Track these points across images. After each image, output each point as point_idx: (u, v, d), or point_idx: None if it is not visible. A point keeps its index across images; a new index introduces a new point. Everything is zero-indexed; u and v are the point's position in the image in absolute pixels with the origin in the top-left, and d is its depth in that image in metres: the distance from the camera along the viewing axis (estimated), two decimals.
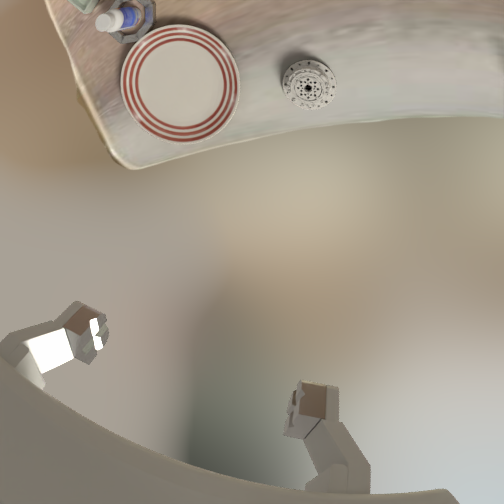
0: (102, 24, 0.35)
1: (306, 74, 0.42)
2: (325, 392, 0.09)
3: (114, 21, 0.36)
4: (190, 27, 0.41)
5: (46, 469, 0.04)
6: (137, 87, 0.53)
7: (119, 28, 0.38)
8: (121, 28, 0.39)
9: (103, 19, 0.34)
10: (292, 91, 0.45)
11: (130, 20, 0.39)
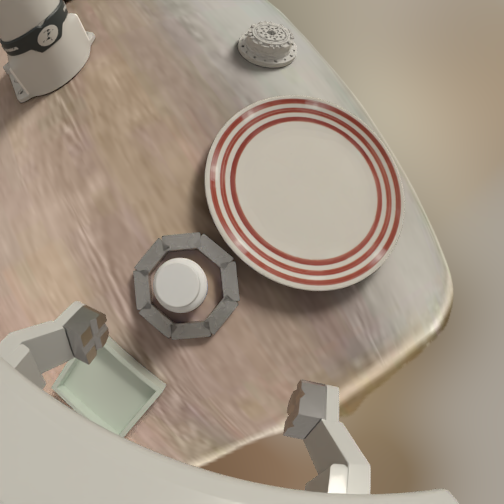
0: (181, 284, 0.25)
1: (255, 34, 0.36)
2: (325, 392, 0.09)
3: None
4: (210, 157, 0.34)
5: (46, 469, 0.04)
6: (327, 260, 0.35)
7: (200, 268, 0.28)
8: None
9: (169, 282, 0.25)
10: (280, 42, 0.37)
11: None
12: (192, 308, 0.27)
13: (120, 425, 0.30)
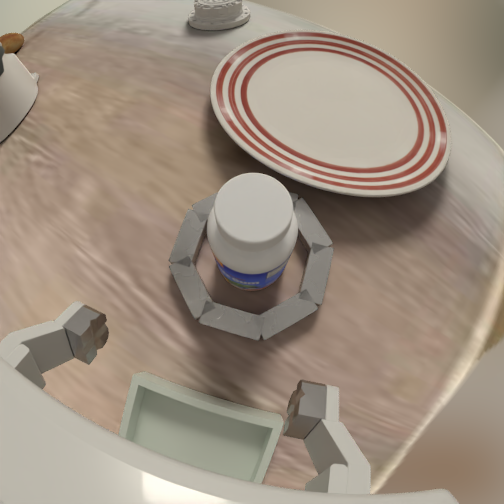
0: (261, 202, 0.14)
1: (203, 3, 0.31)
2: (325, 392, 0.09)
3: None
4: (215, 101, 0.26)
5: (46, 469, 0.04)
6: (400, 161, 0.25)
7: None
8: None
9: (239, 206, 0.14)
10: (231, 1, 0.31)
11: None
12: (288, 250, 0.16)
13: None
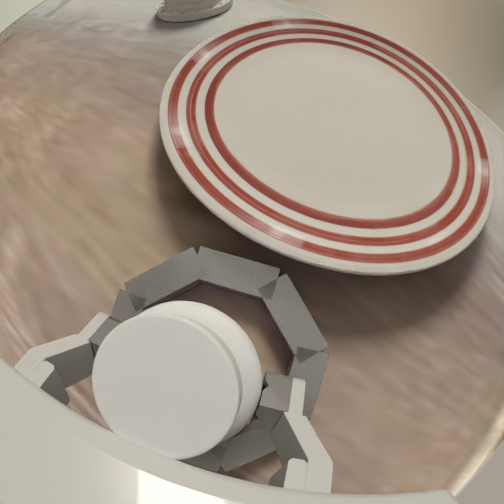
0: (172, 386, 0.06)
1: None
2: (290, 385, 0.09)
3: None
4: (164, 117, 0.18)
5: (46, 469, 0.04)
6: (431, 205, 0.17)
7: None
8: None
9: (132, 389, 0.06)
10: None
11: None
12: (241, 425, 0.08)
13: None
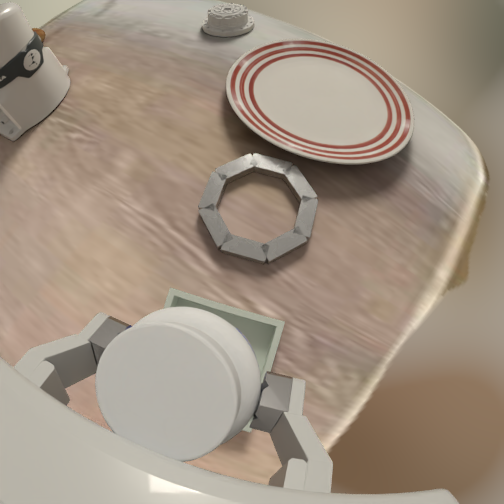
0: (171, 390, 0.07)
1: (215, 13, 0.39)
2: (290, 384, 0.09)
3: None
4: (230, 95, 0.34)
5: (46, 469, 0.04)
6: (370, 141, 0.34)
7: None
8: None
9: (135, 401, 0.06)
10: (239, 12, 0.39)
11: None
12: (248, 416, 0.09)
13: None
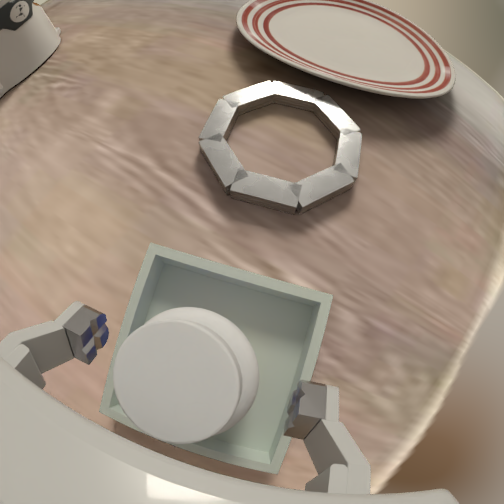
0: (182, 378, 0.08)
1: None
2: (325, 392, 0.09)
3: None
4: (241, 27, 0.24)
5: (46, 469, 0.04)
6: (411, 81, 0.24)
7: None
8: None
9: (149, 388, 0.08)
10: None
11: None
12: (248, 405, 0.10)
13: (266, 433, 0.16)
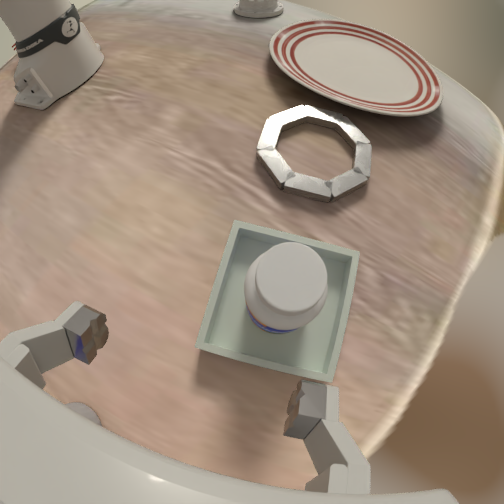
0: (298, 271, 0.16)
1: None
2: (325, 392, 0.09)
3: None
4: (275, 58, 0.33)
5: (46, 469, 0.04)
6: (408, 101, 0.32)
7: None
8: None
9: (279, 279, 0.16)
10: None
11: None
12: (323, 302, 0.18)
13: (319, 356, 0.23)
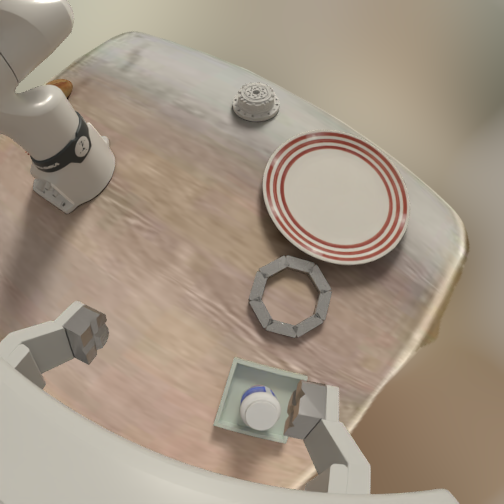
0: (264, 414, 0.31)
1: (246, 97, 0.53)
2: (325, 392, 0.09)
3: (254, 402, 0.33)
4: (267, 201, 0.48)
5: (46, 469, 0.04)
6: (373, 238, 0.47)
7: (265, 392, 0.35)
8: (266, 391, 0.36)
9: (256, 418, 0.31)
10: (267, 98, 0.53)
11: (252, 389, 0.37)
12: (278, 419, 0.33)
13: (280, 427, 0.39)
